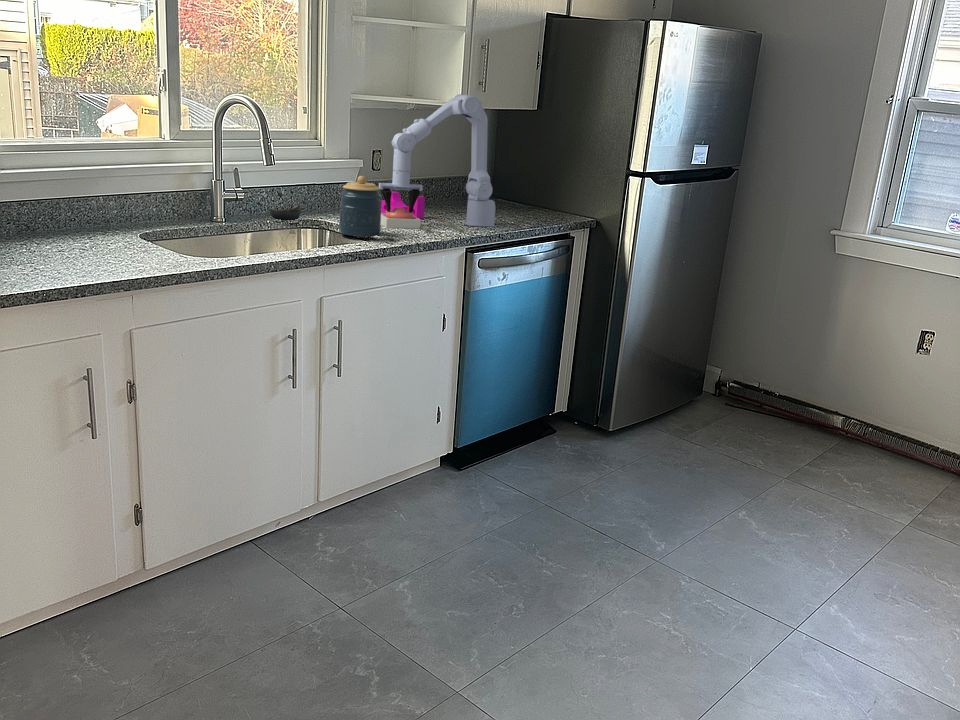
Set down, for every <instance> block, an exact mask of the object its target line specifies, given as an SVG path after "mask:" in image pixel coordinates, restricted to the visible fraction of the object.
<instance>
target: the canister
mask: <svg viewBox="0 0 960 720" xmlns="http://www.w3.org/2000/svg"><path fill="white" fill-rule="evenodd" d="M342 188H343V191H342V192H340V193H339V196H340V197H341V198H340V199H341V201H340V204H339V221H338V222H339V224H338V231H339V233H340V234H342V235H345V236H352V237H353V236H354V237H376V236H380V235H381V230H382V229H381V228H382V225H381V214H382V213H381V209H382V207H381V201H382V199H383V195H381V194H380V192H379V191H381V189H380V188H379V186H377V184H375V183H371V182H367V178H366V177H365V176H364V175H359V176H358V177H357V181H350V182H349V181H348V182H346V184H344V185H343V186H342Z"/></svg>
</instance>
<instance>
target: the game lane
mask: <svg viewBox="0 0 960 720" xmlns="http://www.w3.org/2000/svg"><path fill="white" fill-rule="evenodd" d="M433 218H434V219H436V220H438V221H439V222H442V223H443V224H444V225H446V226H448V227H450V228H452V229H453V230H455V231H457V232H458V233H465V230H464V229H463V228H460V227H458V226H457V225H455V224H453V223H450V222H448V221H446V220H444V219H443V218H440V217H438V216H437V215H433ZM420 229H421V230H422V231H424V232H425V233H426V232H427V233H431V232H432V229H431V228H429V227H427V226H426V225H424V224H422V223H421V227H420Z"/></svg>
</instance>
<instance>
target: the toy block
mask: <svg viewBox="0 0 960 720" xmlns="http://www.w3.org/2000/svg"><path fill="white" fill-rule="evenodd" d="M391 192H392V195H391V209H390V210H393V209H395V208H397V207H401V208H404V209H405V210H406V211H409V205H408V206H407V205H406V204H405V203H404V202H403V200H402V198H401V193H400V192H399V191H396V190H391ZM425 201H426V197H425V196H423V195H419V196H418V198H417V200H416V202H415V205H414V208H413V216H415V217H417V218H419V219H424V217H425V206H426V205H425V203H426V202H425ZM380 205H381V207H382V209H381V214H386V211H387V209H386V203H385V200H384V199H383V200H382V199H381V203H380Z"/></svg>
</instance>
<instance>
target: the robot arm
mask: <svg viewBox="0 0 960 720" xmlns="http://www.w3.org/2000/svg"><path fill="white" fill-rule="evenodd" d="M451 115H452V116H453V115H454V116H455V115H461V116H463V117H464V118H465V119H466V120H467V121H468V122H469V123H470V124H471V149H470V150H471V156H470V157H471V162H470V163H471V164H470V168H471V171H470V172H469V174H468V179H467V182H466V184H465V191H466V193H467V194H468V196H467V207H466V209H467V210H466V218H465V219H466V220H464V221H463V220H462V224H465V225H467V226H468V227H495V226H496V225H495V219H496V202H495V200H493V199H490V197H492V194H493V191H494V190H493V185H492V183H491V176H490V175H489V173H488V168H487V167H488V123H489V122H488V116H487V113H486V112H485V109H484V108H483V105H482V101H481V100H480V99H479V98H478V97H477V96H475V95H472V94H469V95H468V94H463V93H462V94H461V93H459V94H457V95H455V96H454V97H452V98H449V99H448V101H446V102H445V103H444V104H443V105H442V106H440V107H439V108H438V109H436V110H435V111H433V112H432V113H431V114H430V115H429V116H427V117H426V118H425V119H424V118H419V119H418V118H415V119H414V120H413V123H412V124H411V125H409V126H408V127H407V128H405V127H404V128H403V129H402V132H398V133H396V134H395V135H394V136H393V138H392V140H391V143H390V144H391V146H392V148H393V159H392V160H393V162H392V179H391V181H392V182H378V187H379V188H380V191H381V194H382V198H383V200H385V203H386V209H387V212H390V209H391V195H392V191H396V190H397V191H408V196H409V200H408V206H409V212H410V213H412V212H413V208H414V205H415V202H416V200H417V198H418V196H421V192H423V187H424V185H422V184H413V183H411V181H410V180H411V166H412V165H411V164H412V163H411V162H412V151H413V150H414V148H415V145H417V144H418V143H419V142H420V141H422V140H423V139H425V138H426V137H427V136H429V135H430V134H431V133H432V128H433V127H435V126H436V125H438V124H440V123H441V122H442V121H444V120H445V119H446V118H449V117H450V116H451Z"/></svg>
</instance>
